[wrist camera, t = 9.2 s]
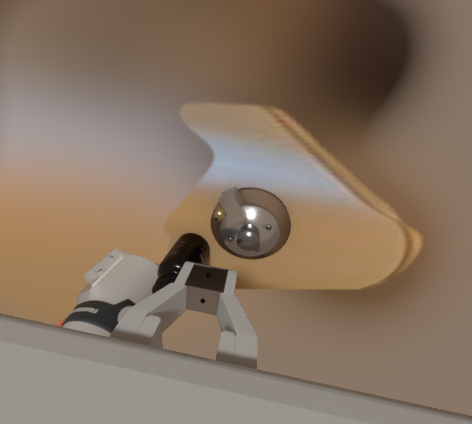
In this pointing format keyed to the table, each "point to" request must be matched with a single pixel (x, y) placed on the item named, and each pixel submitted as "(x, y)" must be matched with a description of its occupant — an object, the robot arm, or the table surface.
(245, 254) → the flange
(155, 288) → the supplement bottle
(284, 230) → the walnut base
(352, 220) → the table surface
